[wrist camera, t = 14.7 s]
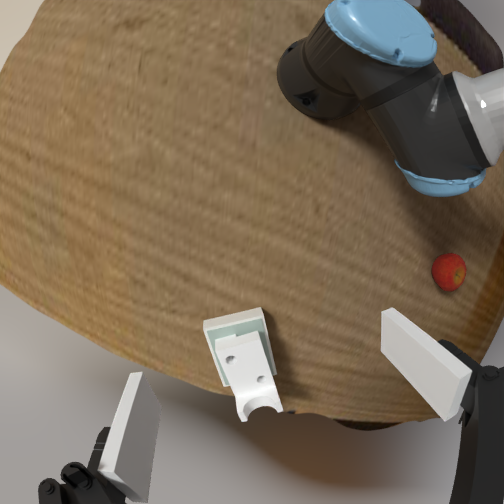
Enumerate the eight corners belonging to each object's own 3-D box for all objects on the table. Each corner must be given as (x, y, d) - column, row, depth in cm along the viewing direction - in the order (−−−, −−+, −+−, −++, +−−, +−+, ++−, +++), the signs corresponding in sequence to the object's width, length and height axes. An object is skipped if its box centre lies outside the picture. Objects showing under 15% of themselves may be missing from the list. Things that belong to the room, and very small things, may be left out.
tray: (260, 307, 47) (263, 315, 44) (274, 365, 51) (277, 375, 47) (203, 320, 47) (203, 329, 43) (223, 376, 50) (223, 387, 47)
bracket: (274, 383, 48) (283, 410, 41) (238, 393, 48) (242, 422, 40) (256, 327, 44) (264, 353, 37) (215, 339, 44) (215, 366, 37)
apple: (436, 289, 52) (458, 301, 45) (419, 272, 50) (443, 285, 43) (453, 260, 51) (476, 270, 44) (437, 241, 49) (462, 250, 42)
